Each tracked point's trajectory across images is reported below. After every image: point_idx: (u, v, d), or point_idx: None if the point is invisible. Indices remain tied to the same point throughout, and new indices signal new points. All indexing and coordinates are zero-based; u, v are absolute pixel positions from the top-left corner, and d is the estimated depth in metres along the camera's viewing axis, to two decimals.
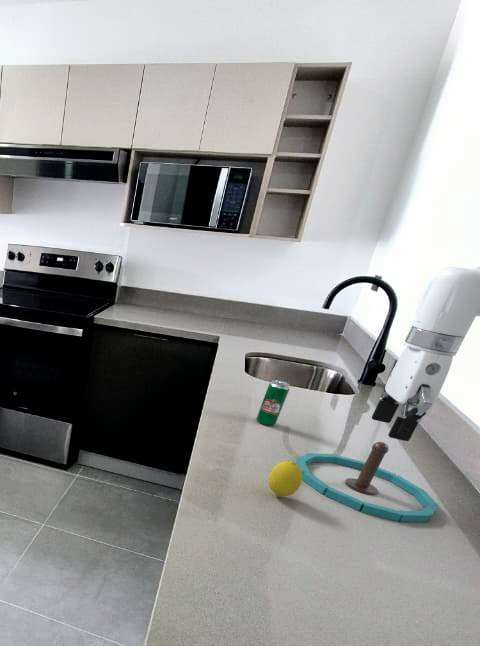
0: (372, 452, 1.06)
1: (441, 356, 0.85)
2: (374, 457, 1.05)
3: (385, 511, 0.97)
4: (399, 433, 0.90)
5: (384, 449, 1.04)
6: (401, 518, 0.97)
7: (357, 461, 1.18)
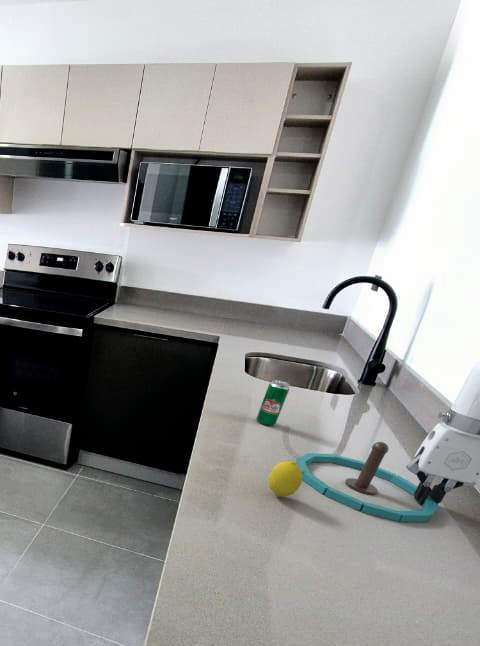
0: (372, 452, 1.06)
1: (439, 426, 1.00)
2: (374, 457, 1.05)
3: (385, 511, 0.97)
4: (414, 493, 1.07)
5: (384, 449, 1.04)
6: (401, 518, 0.97)
7: (357, 461, 1.18)
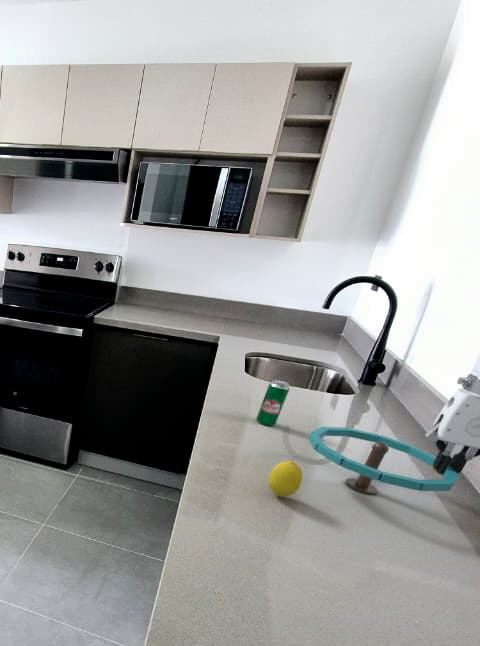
0: (372, 452, 1.06)
1: (459, 392, 0.97)
2: (374, 457, 1.05)
3: (405, 480, 0.94)
4: (433, 463, 1.03)
5: (384, 449, 1.04)
6: (421, 487, 0.94)
7: (372, 434, 1.15)
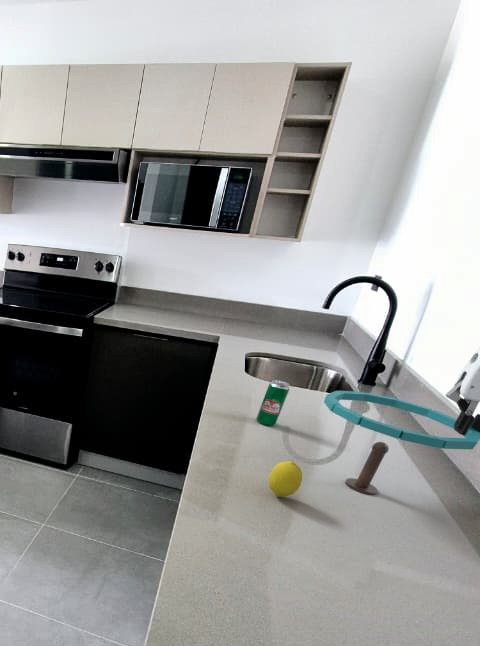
0: (372, 452, 1.06)
1: None
2: (374, 457, 1.05)
3: (427, 437, 0.91)
4: (455, 424, 1.00)
5: (384, 449, 1.04)
6: (444, 444, 0.90)
7: (389, 398, 1.12)
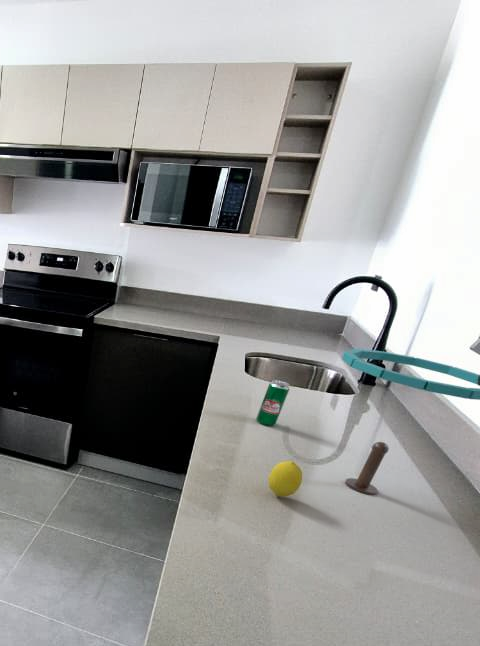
0: (372, 452, 1.06)
1: None
2: (374, 457, 1.05)
3: (453, 388, 0.87)
4: (478, 378, 0.96)
5: (384, 449, 1.04)
6: (471, 395, 0.87)
7: (408, 356, 1.08)
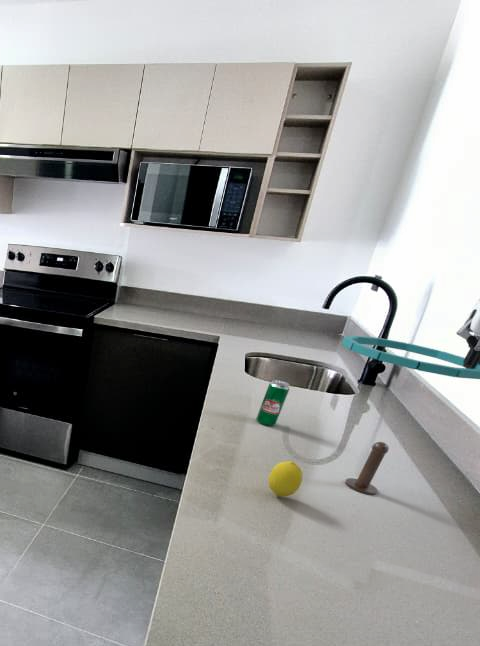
0: (372, 452, 1.06)
1: None
2: (374, 457, 1.05)
3: (443, 367, 0.97)
4: (464, 360, 1.07)
5: (384, 449, 1.04)
6: (458, 373, 0.97)
7: (401, 342, 1.19)
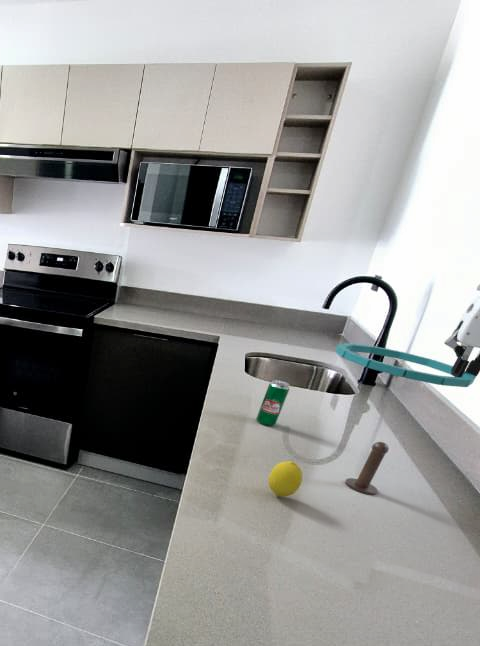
0: (372, 452, 1.06)
1: (478, 298, 1.06)
2: (374, 457, 1.05)
3: (428, 375, 1.03)
4: (452, 369, 1.12)
5: (384, 449, 1.04)
6: (443, 381, 1.03)
7: (393, 350, 1.24)
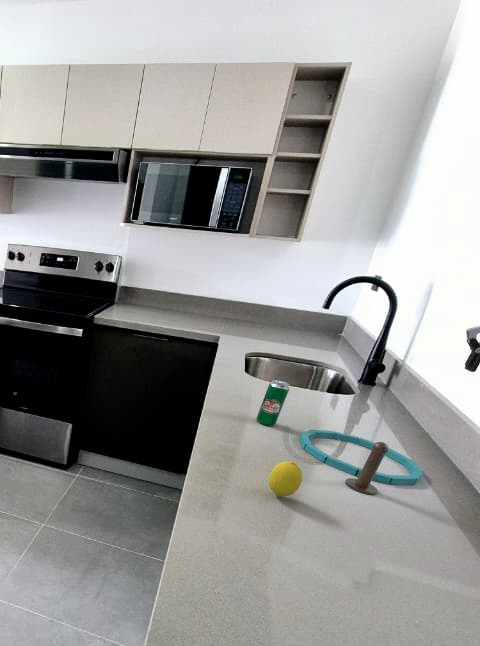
0: (372, 452, 1.06)
1: None
2: (374, 457, 1.05)
3: (377, 475, 1.13)
4: (465, 363, 1.09)
5: (384, 449, 1.04)
6: (391, 481, 1.13)
7: (354, 436, 1.34)
